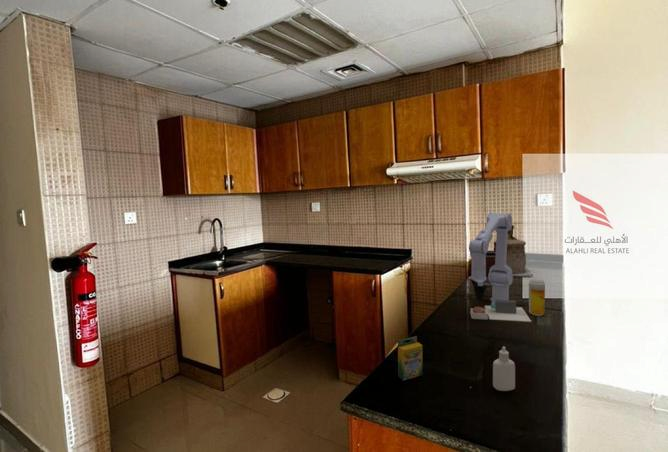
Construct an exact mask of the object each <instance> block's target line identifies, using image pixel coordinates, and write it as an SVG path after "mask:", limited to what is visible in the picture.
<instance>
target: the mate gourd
mask: <svg viewBox="0 0 668 452" xmlns="http://www.w3.org/2000/svg"><path fill="white" fill-rule="evenodd" d="M495 257H496V253H495V252H492V251H491V252H488V251H487V253H486V280H485V281H484V283H483V285H487V286H492V284H491V282H490V281H489V279H488V275H489V271H490V268H491V267H492V266H494V265H495ZM495 271H499V270H495Z"/></svg>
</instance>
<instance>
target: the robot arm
mask: <svg viewBox="0 0 668 452" xmlns="http://www.w3.org/2000/svg"><path fill="white" fill-rule="evenodd" d="M512 225H513V218H512V215H511V214H510V212H507V213H505V212H504V213H501V212H500V213H499V212H498V213H497V212H496V213H492V212H489V213H488V214H487V216H486V225H485V228H484V229H482V230H480V231H479V233H478V234H477V235H476V237H475V238H474V239H473V240H471V241H470V242H469V244H468V250H469V251H468V252H469V256H470V258H471V276H468V279H469V280H470V281H471V283H472V287H473V291H474V295H475V298H476V301H477V302H479V301H481V302H483V299H484V296H485V292H486V289H487V288H488V285H483V283H484V281H485V280H486V253H487V252H488V251H489V247H490V242H491V241H492V239H493V236H494V235H493V233H494V232H496V239H495V241H496V257H495V265H494V266H492V267H491V268H490V271H489V275H488V279H489V281H490V282H491V284H492V285H491V286H492V290H491V293H492V295H491V296H492V297H490V298H489V299H490V301H491V303H495V299H496V300H510V299H509V298H510V297H509V294H510V291H509V290H510V288H509V287H510V286H511V285H512V284H513V280H514V276H513V275H512V269H511V268H509V267H508V266H507V265H506V258H507V236H508V231H510V230H511V228H512ZM495 270H499V271H495ZM502 271H505V272H502Z"/></svg>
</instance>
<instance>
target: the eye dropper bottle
mask: <svg viewBox="0 0 668 452" xmlns="http://www.w3.org/2000/svg"><path fill="white" fill-rule="evenodd" d="M509 353H510V352H509V351H508V350H507V349H506V346H502V348H501V350H498V354H499V355H498V358H497V359H495V360H494V361H493V363H492V386H493V389H495V390H496V391H500V392H509V391H513V390H515V389H516V364H515V362H514V361H513V360H512V359H510V354H509Z"/></svg>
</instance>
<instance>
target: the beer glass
mask: <svg viewBox="0 0 668 452" xmlns="http://www.w3.org/2000/svg"><path fill="white" fill-rule="evenodd" d="M545 300H546V284H545V281H544V280H541V279H537V278H536V279H534V278H532V279H530V280H529V282H528V313H529V314H530V315H531V314H532V315H531V316H534V315H535V317H542V315H545V313H546V312H545V310H546V308H545V306H546V305H545V303H546V302H545Z"/></svg>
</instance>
